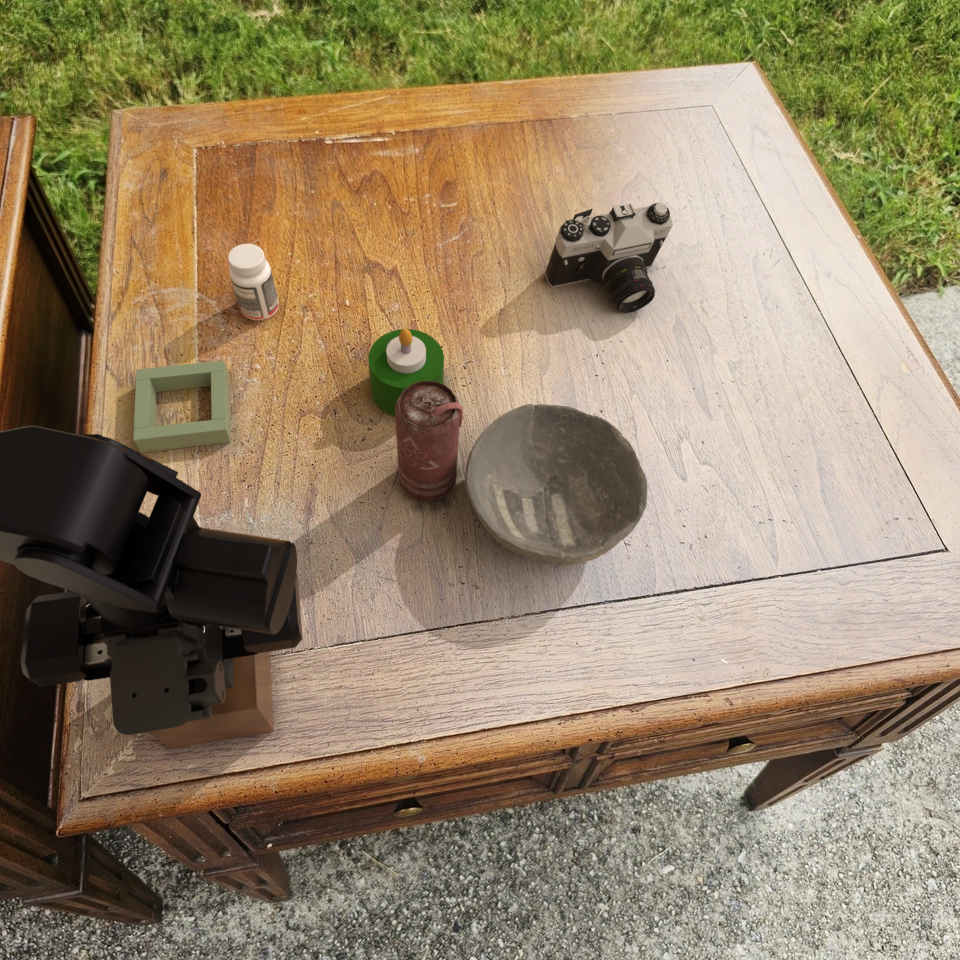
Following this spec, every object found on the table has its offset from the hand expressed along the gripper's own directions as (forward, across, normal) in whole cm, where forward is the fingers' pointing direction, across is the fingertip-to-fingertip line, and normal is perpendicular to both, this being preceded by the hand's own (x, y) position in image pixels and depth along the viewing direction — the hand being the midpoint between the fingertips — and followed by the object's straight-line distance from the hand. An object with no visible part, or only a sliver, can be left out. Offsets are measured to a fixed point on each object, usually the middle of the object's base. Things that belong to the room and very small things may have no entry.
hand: (196, 658), depth 64 cm
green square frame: (+9, -3, +32) cm, 34 cm away
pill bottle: (+10, +5, +47) cm, 48 cm away
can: (+10, +22, +19) cm, 31 cm away
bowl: (+10, +34, +14) cm, 38 cm away
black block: (0, 0, 0) cm, 0 cm away
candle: (+10, +22, +32) cm, 40 cm away
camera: (+10, +49, +44) cm, 67 cm away
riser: (+9, 0, 0) cm, 9 cm away
